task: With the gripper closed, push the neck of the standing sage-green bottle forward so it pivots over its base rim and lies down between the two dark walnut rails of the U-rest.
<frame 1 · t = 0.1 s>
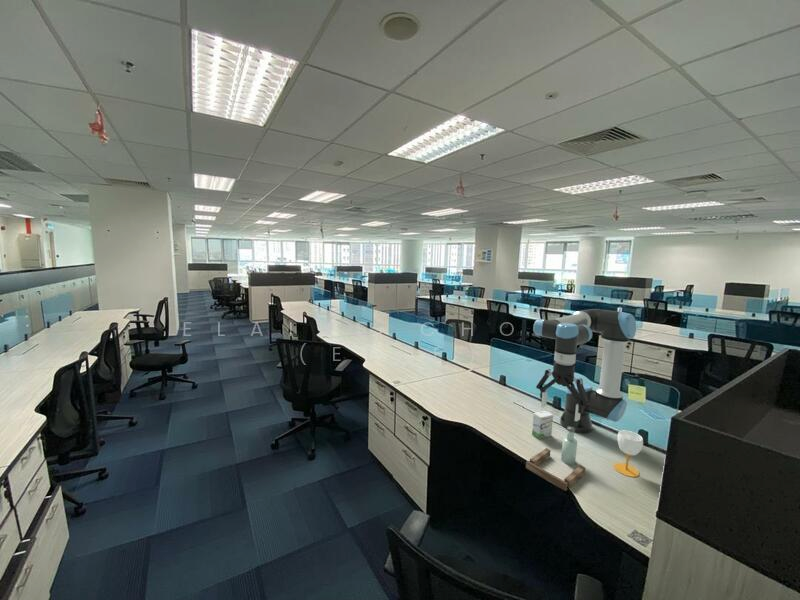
hand: (559, 413, 130), 28 cm above the table, fingers open, 13 cm apart
cup: (626, 470, 138), on the table
ink box: (541, 435, 164), on the table
bottle: (568, 460, 144), on the table
u rest: (556, 469, 138), on the table
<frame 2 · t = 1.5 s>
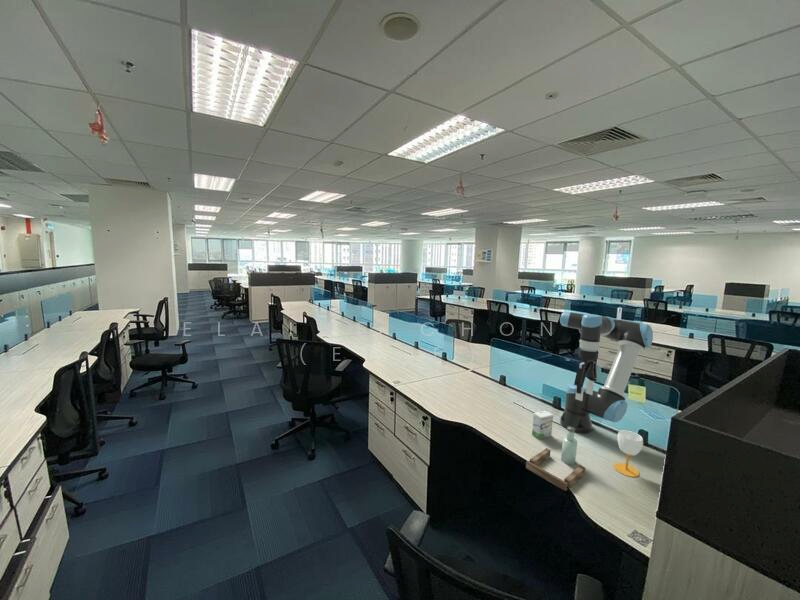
hand: (584, 396, 146), 28 cm above the table, fingers open, 10 cm apart
nothing on the table moved.
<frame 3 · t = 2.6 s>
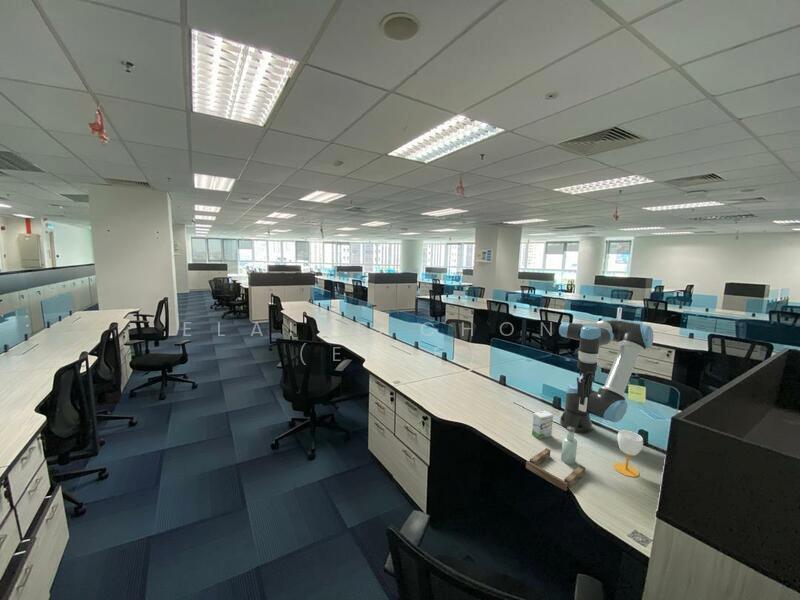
hand: (582, 410, 147), 21 cm above the table, fingers closed
nothing on the table moved.
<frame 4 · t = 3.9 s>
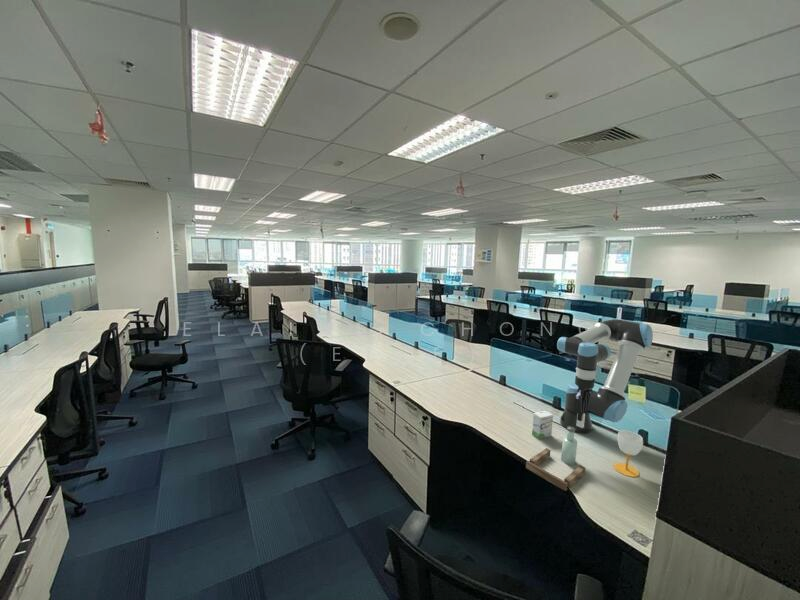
hand: (580, 426, 147), 14 cm above the table, fingers closed
nothing on the table moved.
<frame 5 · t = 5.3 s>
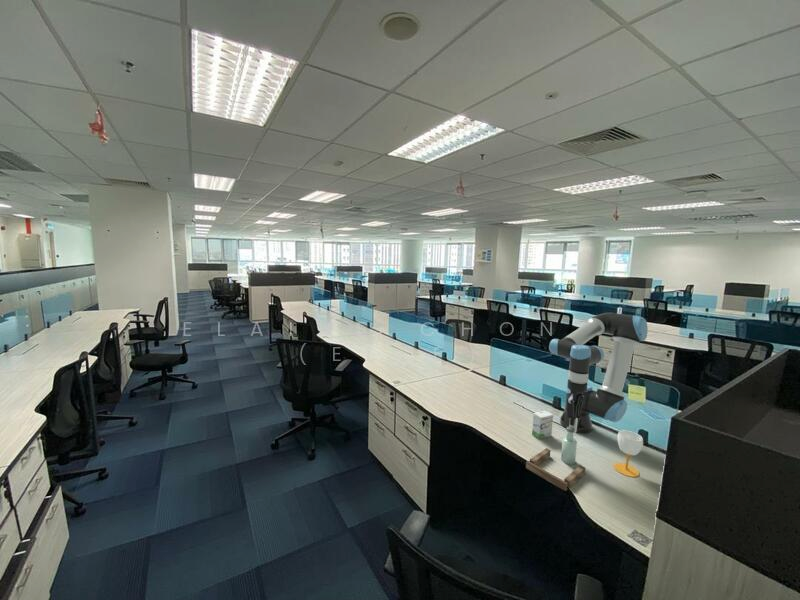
hand: (572, 431, 143), 14 cm above the table, fingers closed
bottle: (568, 460, 144), on the table, touching gripper
everything else where it was.
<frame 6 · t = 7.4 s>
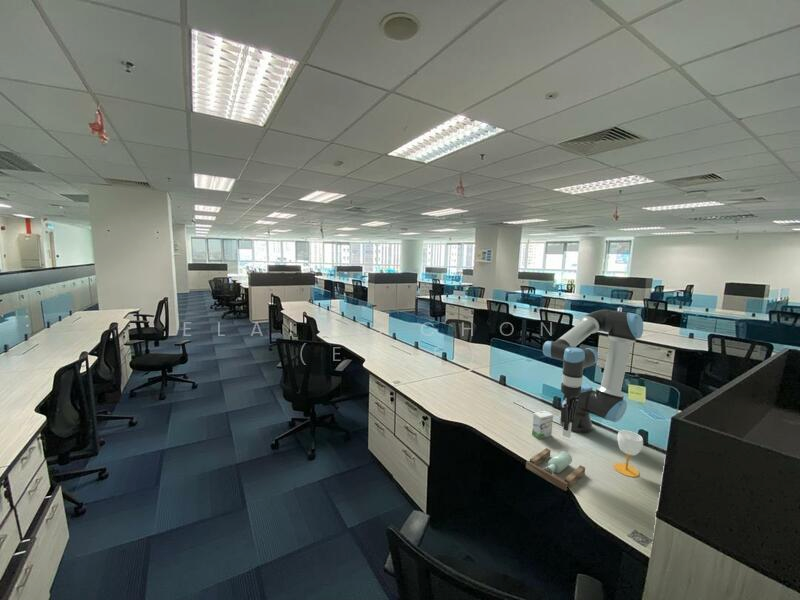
hand: (566, 435, 140), 13 cm above the table, fingers closed
bottle: (565, 457, 142), point 3 cm above the table, tilted 90°
everything else where it was.
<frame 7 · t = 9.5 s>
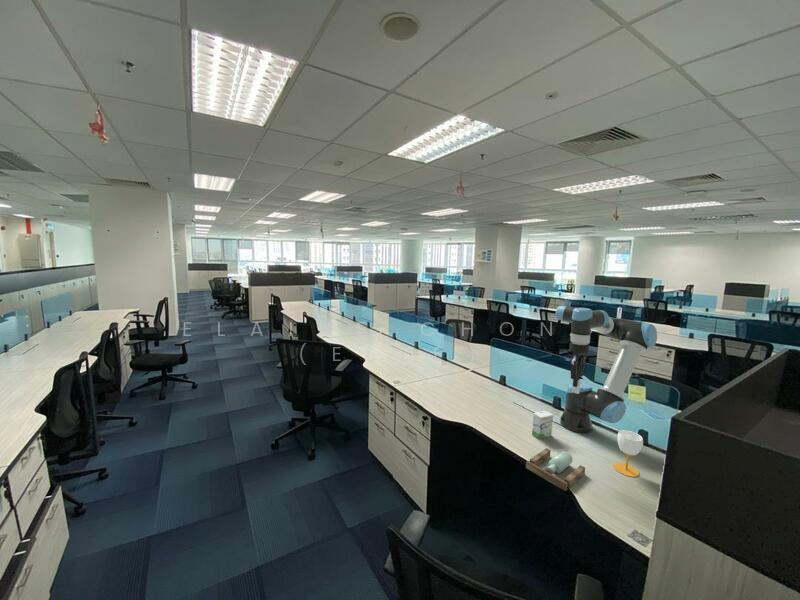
hand: (575, 392, 147), 29 cm above the table, fingers closed
nothing on the table moved.
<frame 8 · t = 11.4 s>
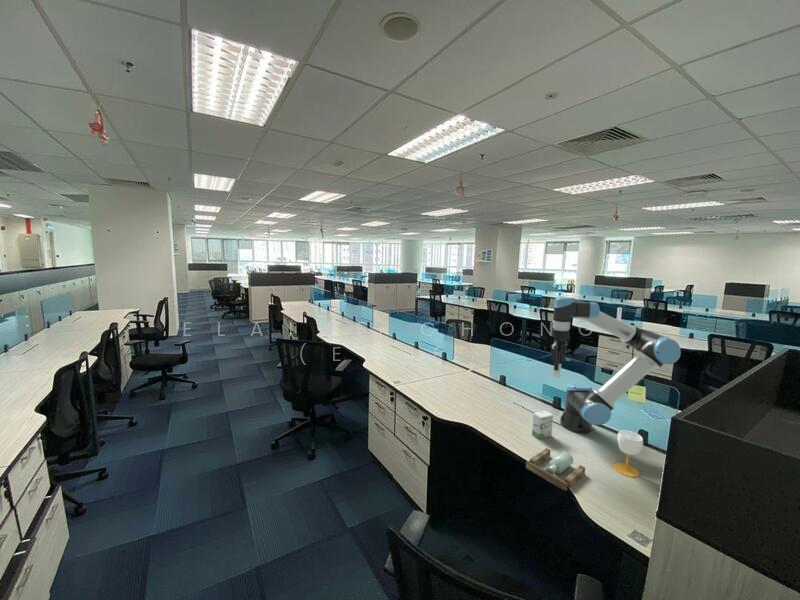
hand: (556, 376, 158), 32 cm above the table, fingers closed
nothing on the table moved.
at the end: bottle tilted 90°; bottle inside the target area (5.7 cm from its centre), point 2.7 cm above the table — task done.
